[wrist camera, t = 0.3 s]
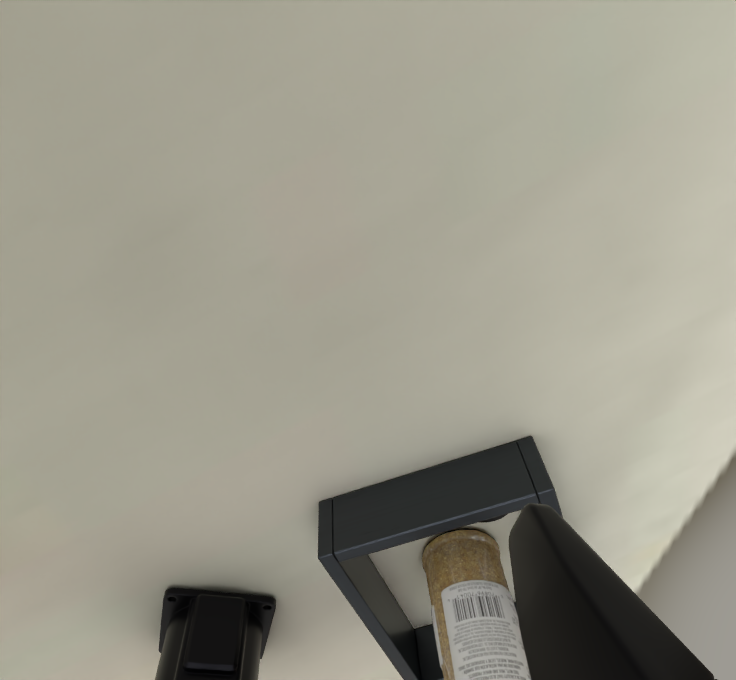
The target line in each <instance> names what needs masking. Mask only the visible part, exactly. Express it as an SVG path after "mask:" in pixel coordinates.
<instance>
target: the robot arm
mask: <svg viewBox="0 0 736 680" xmlns="http://www.w3.org/2000/svg"><path fill="white" fill-rule="evenodd" d="M509 551H510V558H511V566H512V574H513V582H514V590H515V598H516V606H517V614H518V621H519V627H520V632H521V637H522V642H523V646H524V651H525V655H526V659H527V664H528V668H529V672H530V676H531V680H717V679H714V676H713V674H712V673H711V672H710V671H709V670H708V669H707V668H706V667H705V666H704V665H703V664H702V663H701V662H700V661H699V660H698V659H697V658H696V656H695V655H694V654H693V653H691V651H690V650H689V649H688V648H687V647H686V646H685V645H684V644H683V643H682V642H681V641H680V640H679V639H678V638H677V637H676V636H675V635H674V634H673V633H672V632H671V630H670V629H669V628H668V627H667V626H666V625H665V624H664V623H663V622H662V621H661V620H660V619H659V618H658V617H657V616H656V615H655V614H654V613H653V612H652V611H651V610H650V609H649V608H648V607H647V606H646V605H645V603H643V601H642V600H641V599H640V598H639V597H638V596H637V595H636V594H635V593H634V592H633V591H632V590H631V589H630V588H629V587H628V586H627V585H626V584H625V583H624V582H623V581H622V579H621V578H620V577H619V576H618V575H617V574H616V573H615V572H614V571H613V570H612V569H611V568H610V567H609V566H608V565H607V564H606V563H605V562H604V561H603V560H602V559H601V558H600V557H599V556H598V555H597V553H596V552H595V551H594V550H593V549H592V548H591V547H590V546H589V545H588V544H587V543H586V542H585V541H584V540H583V539H582V538H581V537H580V536H579V535H578V534H577V533H576V532H575V531H574V530H573V529H572V527H571V526H570V525H569V524H568V523H567V522H566V521H565V520H564V519H563V518H562V517H561V516H560V515H559V514H558V513H557V512H556V511H555V510H554V509H553V508H552V507H550V506H549V505H544V504H535V503H528V504H527V505H525V506H524V508H523V509H522V511H521V513H520V515H519V517H518V519H517V521H516V523H515V524H514V526H513V528H512V530H511V532H510V536H509ZM275 608H276V600H275V598H273V597H269V596H258V595H247V594H236V593H225V592H214V591H203V590H191V589H180V588H170V589H167V590H166V591H165V595H164V599H163V609H162V620H161V631H160V641H159V652H160V653H161V657H160V661H159V665H158V669H157V673H156V678H155V680H258V672H259V662H260V659H261V658H262V656H263V653H264V649H265V645H266V642H267V638H268V634H269V631H270V627H271V623H272V619H273V616H274V612H275Z"/></svg>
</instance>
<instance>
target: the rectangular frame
mask: <svg viewBox="0 0 736 680" xmlns="http://www.w3.org/2000/svg"><path fill="white" fill-rule="evenodd" d="M528 503H535V504H544V505H549V506H550V507H552V508H553V509H554V510H555V511H556V512H557V513H558V514H559V515H560V516H561V517H562V518H563V516H562V513H561V509H560V506H559V503H558V499H557V496H556V492H555V489H554V487H553V484H552V482H551V479H550V477H549V475H548V472H547V470H546V468H545V465H544V463H543V461H542V458H541V456H540V454H539V451H538V449H537V447H536V444H535V442H534V439H533V437H532V436H530V437H527V438H523V439H520V440H517V442H512V443H508V444H505V445H502V446H499V447H495V448H492V449H489V450H486V451H483V452H479V453H476V454H473V455H470V456H466V457H463V458H460V459H457V460H453V461H450V462H447V463H444V464H441V465H437V466H434V467H431V468H428V469H424V470H421V471H418V472H415V473H412V474H408V475H405V476H402V477H399V478H395V479H392V480H389V481H386V482H382V483H379V484H376V485H373V486H370V487H366V488H363V489H360V490H357V491H353V492H350V493H347V494H344V495H340V496H337V497H334V498H333V499H332V498H331V499H327V500H324V501H321V502H319V525H318V559H319V560H320V562H321V563H322V565H323V566H324V568H325V569H326V570H327V572H328V573H329V575H330V576H331V577H332V579H333V580H334V582H335V583H336V585H337V586H338V587H339V589H340V590H341V592H342V593H343V594H344V596H345V597H346V599H347V600H348V602H349V603H350V604H351V606H352V607H353V609H354V610H355V611H356V613H357V614H358V616H359V617H360V618H361V620H362V621H363V623H364V624H365V626H366V627H367V628H368V630H369V631H370V633H371V634H372V635H373V637H374V638H375V640H376V641H377V643H378V644H379V645H380V647H381V648H382V650H383V651H384V652H385V654H386V655H387V657H388V658H389V660H390V661H391V662H392V664H393V665H394V667H395V668H396V669H397V671H398V672H399V674H400V675H401V677H402V678H403V679H404V680H444V676H443V671H442V669H441V667H440V662H439V657H438V650H437V645H436V639H435V633H434V627H433V625H430V626H426V627H422V628H418V629H415V631H414V629H413V627H412V626H411V624H410V623H409V621H408V619H407V618H406V616H405V615H404V613H403V611H402V610H401V608H400V607H399V605H398V603H397V602H396V600H395V599H394V597H393V595H392V594H391V592H390V591H389V589H388V587H387V586H386V584H385V582H384V581H383V579H382V578H381V576H380V574H379V573H378V571H377V570H376V568H375V566H374V565H373V563H372V562H371V560H370V558H369V557H368V555H367V554H370V553H374V552H377V551H381V550H384V549H388V548H391V547H394V546H398V545H401V544H405V543H408V542H412V541H415V540H418V539H422V538H425V537H429V536H432V535H436V534H439V533H443V532H446V531H449V530H453V529H456V528H460V527H463V526H467V525H470V524H473V523H477V522H492V521H495V520H498V519H501V518H502V517H504V516H506V515H507V514H508V513H511V512H515V511H518V510H522V509H523V508H524V506H525V505H527V504H528ZM514 605H515V609H516V612H517V606H516V603H514ZM517 615H518V614H517Z"/></svg>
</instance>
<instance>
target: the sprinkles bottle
mask: <svg viewBox="0 0 736 680" xmlns="http://www.w3.org/2000/svg"><path fill="white" fill-rule="evenodd" d="M422 563H423V568H424V570H425V572H426V576H427V582H428V588H429V594H430V600H431V605H432V608H431V613H432V620H433V627H434V633H435V639H436V645H437V650H438V657H439V662H440V667H441V669H442V671H443V676H444V680H531V676H530V672H529V668H528V664H527V659H526V655H525V651H524V646H523V642H522V637H521V632H520V627H519V621H518V615H517V612H516V609H515V605H514V602H513V598H512V595H511V594H510V591H509V588H508V585H507V582H506V579H505V575H504V572H503V568H502V564H501V561H500V551H499V547H498V544H497V543H496V541H495V540H494V539H493V538H491V537H490V536H489V535H487V534H485V533H483V532H480V531H477V530H457V531H453V532H449V533H445V534H443V535H440V536H438V537H437V538H436V539H434V540H433V541H432V542H430V543H429V544H428V545H427V546H426V548H425V550H424V552H423V556H422Z"/></svg>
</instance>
